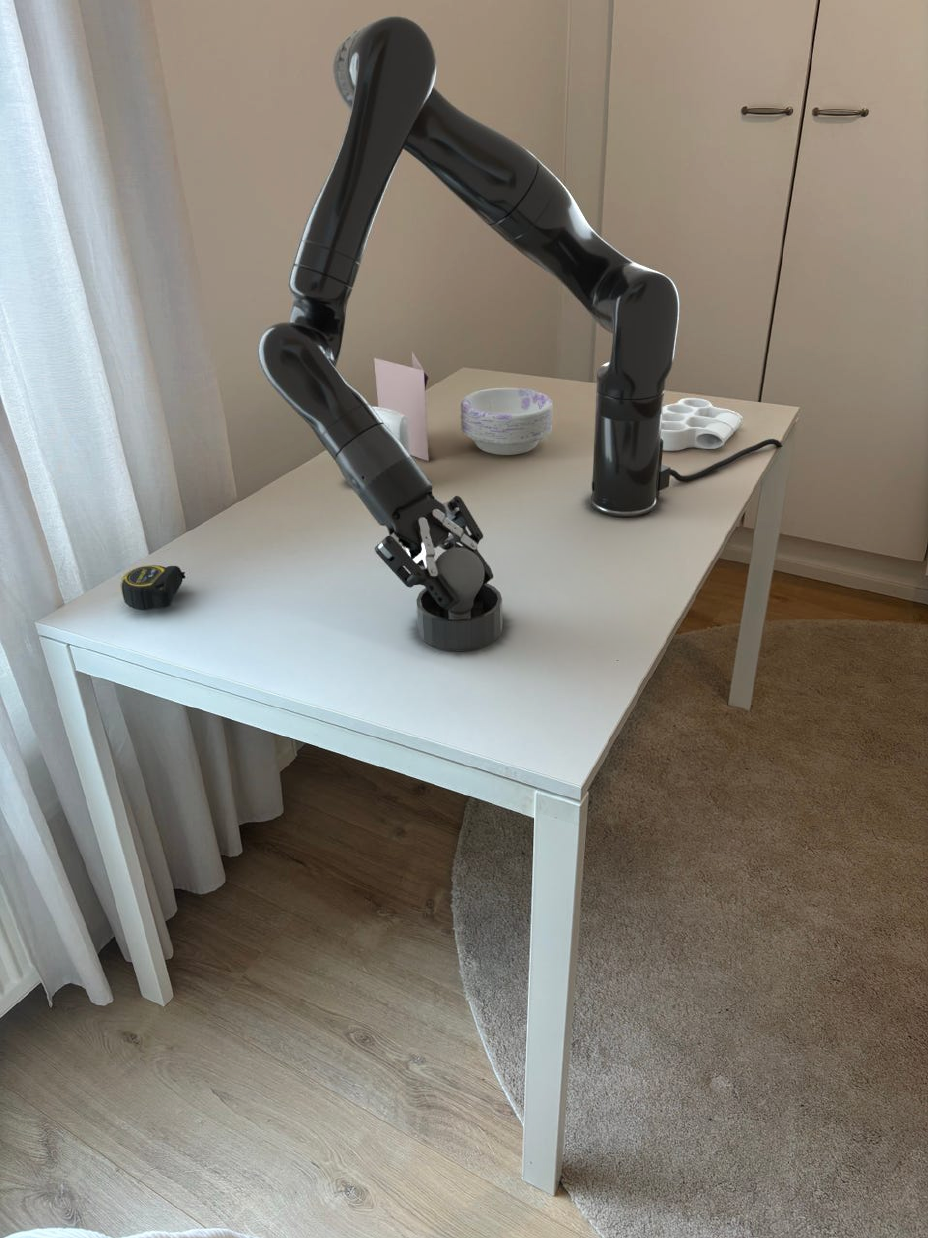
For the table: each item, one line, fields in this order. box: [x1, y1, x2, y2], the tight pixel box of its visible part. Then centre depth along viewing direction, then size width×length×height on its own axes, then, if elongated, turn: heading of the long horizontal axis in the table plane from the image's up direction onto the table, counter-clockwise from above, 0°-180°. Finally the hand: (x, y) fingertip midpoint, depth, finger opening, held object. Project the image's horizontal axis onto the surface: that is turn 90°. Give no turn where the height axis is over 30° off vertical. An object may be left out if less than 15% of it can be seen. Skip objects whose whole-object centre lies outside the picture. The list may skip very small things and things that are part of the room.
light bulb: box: [435, 548, 485, 620], centre depth 109 cm, size 6×6×10 cm
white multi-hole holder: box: [661, 397, 744, 452], centre depth 162 cm, size 3×18×15 cm
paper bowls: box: [460, 387, 554, 456], centre depth 158 cm, size 15×15×8 cm
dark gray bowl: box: [415, 582, 503, 652], centre depth 110 cm, size 10×10×4 cm
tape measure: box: [120, 564, 186, 611], centre depth 118 cm, size 7×7×4 cm
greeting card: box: [374, 351, 430, 462], centre depth 156 cm, size 11×7×15 cm, turn 12°
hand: (470, 593), depth 108 cm, fingers closed on light bulb, 6 cm apart
